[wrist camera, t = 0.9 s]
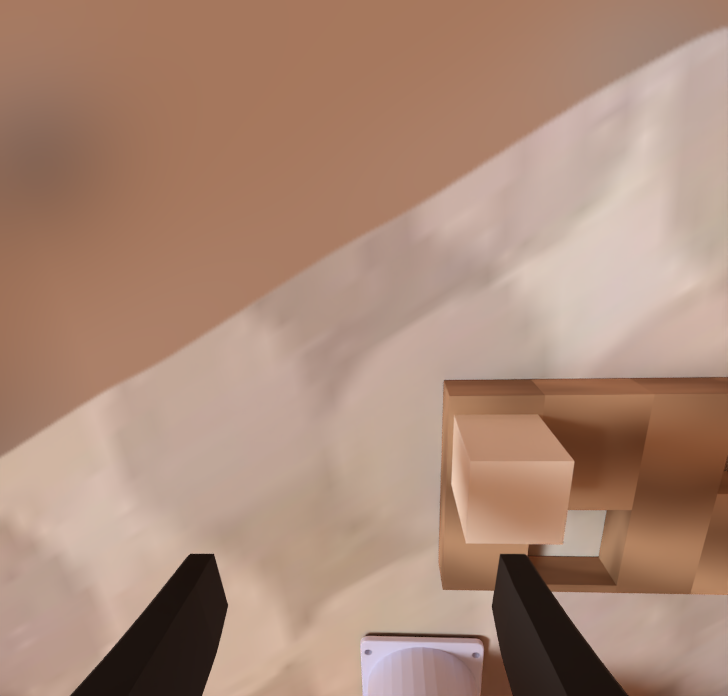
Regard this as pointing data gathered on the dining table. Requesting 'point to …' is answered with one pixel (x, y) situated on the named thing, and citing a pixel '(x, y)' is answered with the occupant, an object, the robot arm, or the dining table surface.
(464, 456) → the block
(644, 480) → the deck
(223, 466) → the dining table surface
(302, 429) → the dining table surface
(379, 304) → the dining table surface
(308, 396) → the dining table surface
